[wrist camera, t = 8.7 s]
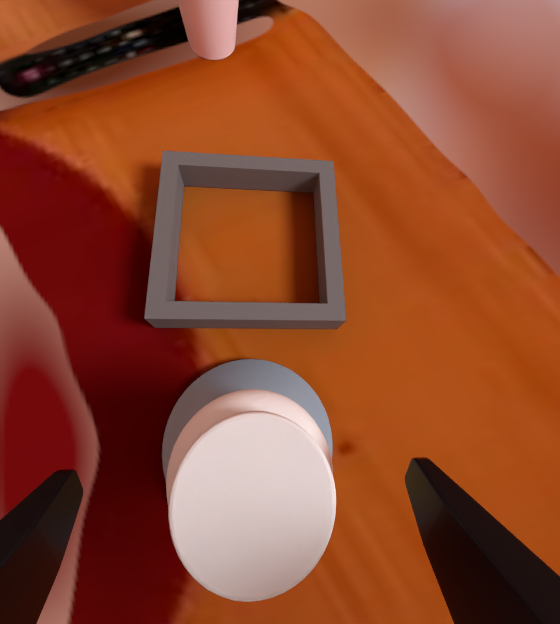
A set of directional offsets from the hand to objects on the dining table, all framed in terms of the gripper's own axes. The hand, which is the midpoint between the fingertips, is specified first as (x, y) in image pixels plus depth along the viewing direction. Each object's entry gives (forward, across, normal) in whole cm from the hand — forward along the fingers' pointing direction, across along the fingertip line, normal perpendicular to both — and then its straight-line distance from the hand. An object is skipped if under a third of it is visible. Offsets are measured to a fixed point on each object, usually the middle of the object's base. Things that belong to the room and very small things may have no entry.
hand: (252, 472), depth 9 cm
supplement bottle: (+6, 0, +6) cm, 9 cm away
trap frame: (+15, 0, -2) cm, 15 cm away
